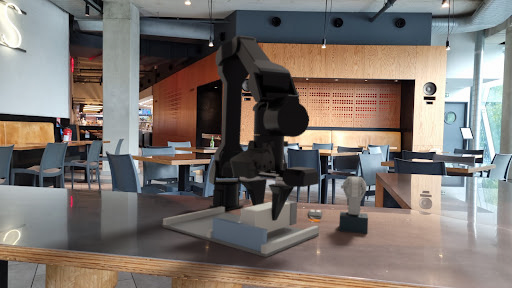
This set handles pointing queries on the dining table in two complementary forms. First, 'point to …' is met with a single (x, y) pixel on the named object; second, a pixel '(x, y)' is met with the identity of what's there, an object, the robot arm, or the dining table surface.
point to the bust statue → (354, 206)
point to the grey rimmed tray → (238, 231)
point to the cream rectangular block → (269, 216)
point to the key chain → (315, 215)
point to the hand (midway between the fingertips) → (266, 218)
